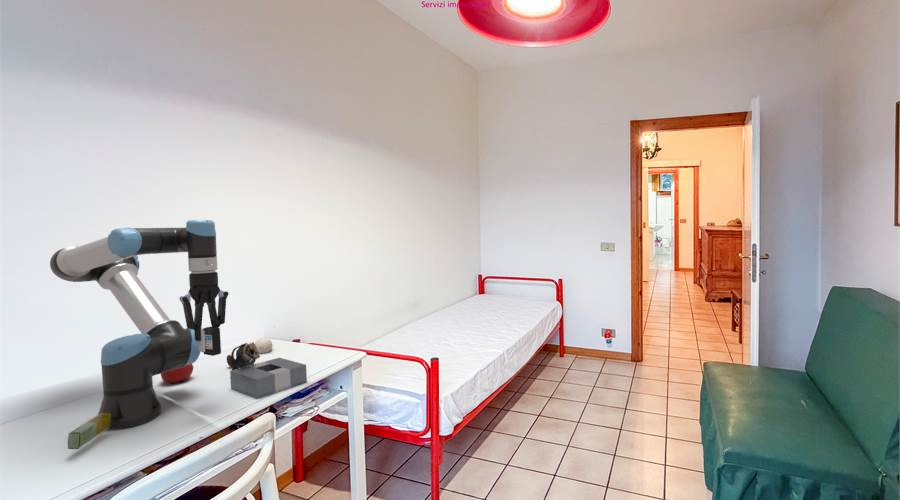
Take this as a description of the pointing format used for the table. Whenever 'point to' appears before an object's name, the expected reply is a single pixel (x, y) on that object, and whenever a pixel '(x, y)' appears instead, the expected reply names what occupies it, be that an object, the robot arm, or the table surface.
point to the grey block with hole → (268, 377)
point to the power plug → (243, 361)
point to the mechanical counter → (243, 352)
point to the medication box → (88, 430)
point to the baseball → (263, 345)
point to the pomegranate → (177, 374)
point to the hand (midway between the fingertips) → (207, 349)
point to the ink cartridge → (212, 341)
